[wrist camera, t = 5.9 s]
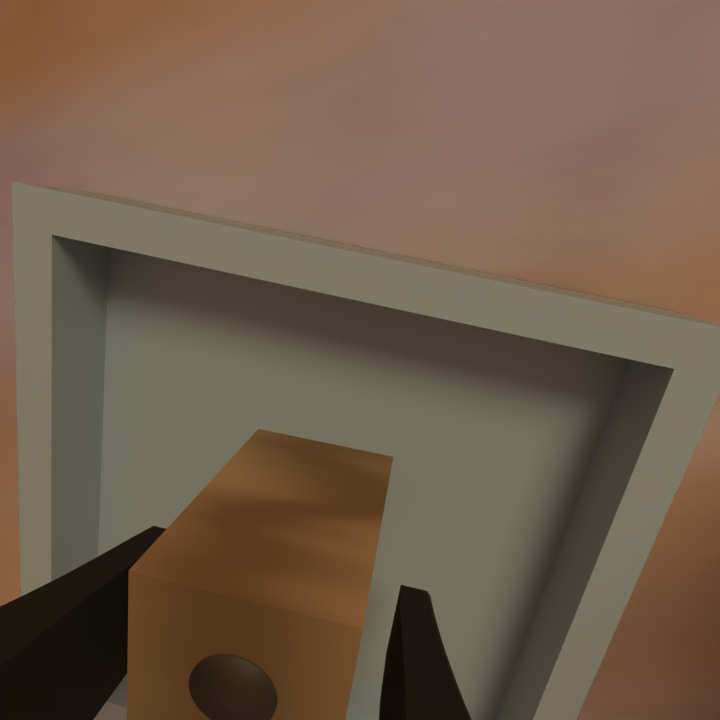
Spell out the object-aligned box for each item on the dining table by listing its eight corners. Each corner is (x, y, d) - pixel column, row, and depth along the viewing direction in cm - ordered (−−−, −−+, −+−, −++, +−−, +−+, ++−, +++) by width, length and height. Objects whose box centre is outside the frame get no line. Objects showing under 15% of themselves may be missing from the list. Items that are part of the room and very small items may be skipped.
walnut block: (393, 456, 13) (362, 631, 7) (371, 573, 14) (329, 805, 8) (258, 428, 13) (126, 572, 8) (247, 544, 14) (124, 746, 9)
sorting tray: (678, 312, 11) (746, 332, 9) (502, 759, 16) (516, 856, 13) (92, 192, 13) (11, 181, 10) (81, 632, 17) (23, 697, 15)
